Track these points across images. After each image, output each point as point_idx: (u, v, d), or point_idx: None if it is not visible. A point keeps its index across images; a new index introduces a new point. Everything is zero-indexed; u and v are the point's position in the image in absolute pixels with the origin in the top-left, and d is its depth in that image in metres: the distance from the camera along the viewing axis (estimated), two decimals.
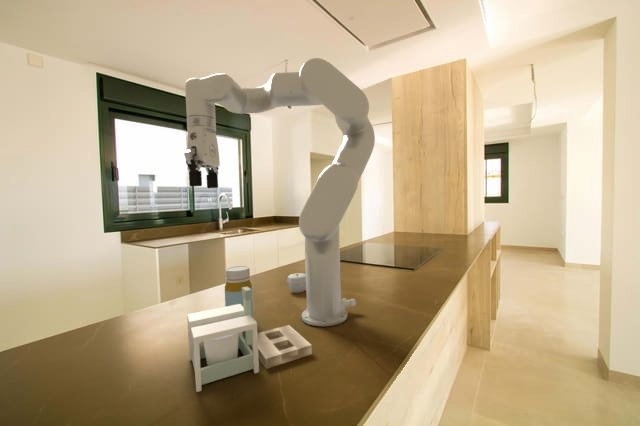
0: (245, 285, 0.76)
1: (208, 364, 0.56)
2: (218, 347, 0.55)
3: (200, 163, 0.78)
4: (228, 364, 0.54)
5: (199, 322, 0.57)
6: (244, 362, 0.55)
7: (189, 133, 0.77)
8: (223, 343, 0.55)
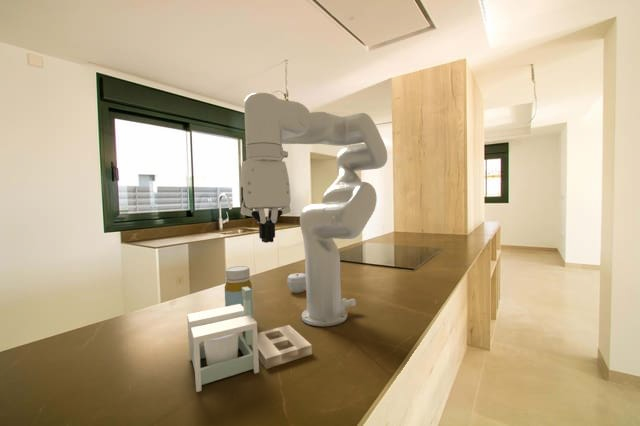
0: (245, 285, 0.76)
1: (208, 364, 0.56)
2: (218, 347, 0.55)
3: None
4: (228, 364, 0.54)
5: (199, 322, 0.57)
6: (244, 362, 0.55)
7: (286, 169, 0.63)
8: (223, 343, 0.55)
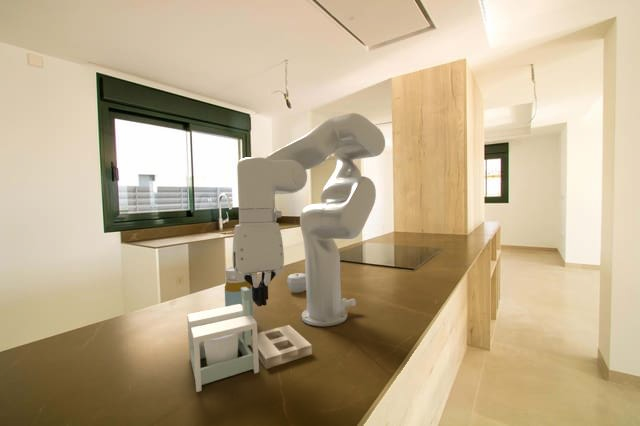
0: (245, 285, 0.76)
1: (208, 364, 0.56)
2: (218, 347, 0.55)
3: None
4: (227, 364, 0.53)
5: (199, 322, 0.57)
6: (243, 362, 0.55)
7: None
8: (223, 343, 0.55)
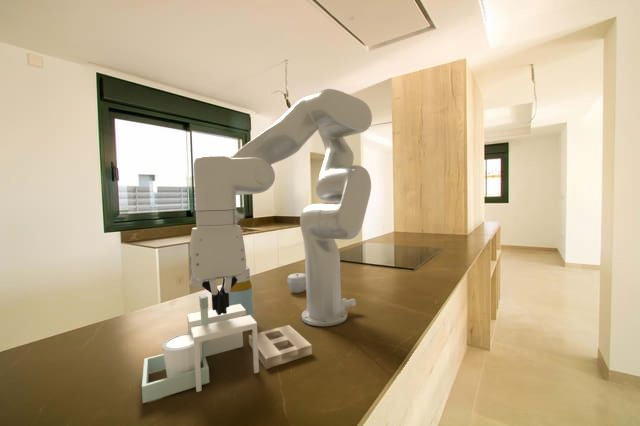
0: (245, 285, 0.76)
1: None
2: (180, 358, 0.51)
3: None
4: (178, 379, 0.50)
5: (199, 322, 0.57)
6: None
7: None
8: (185, 353, 0.51)
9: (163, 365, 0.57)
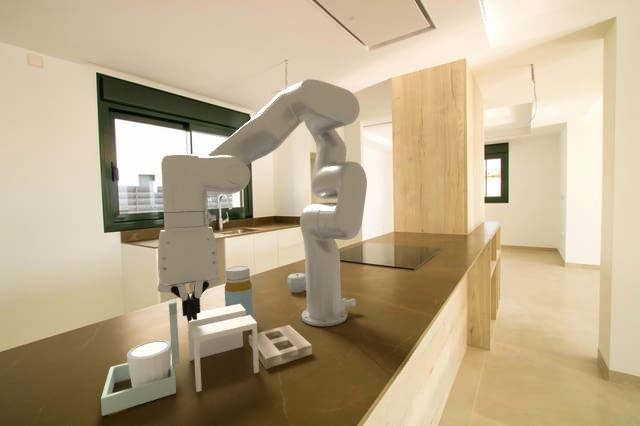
0: (245, 285, 0.76)
1: None
2: (144, 367, 0.49)
3: None
4: (141, 389, 0.47)
5: (199, 322, 0.57)
6: (162, 386, 0.48)
7: None
8: (151, 362, 0.49)
9: None
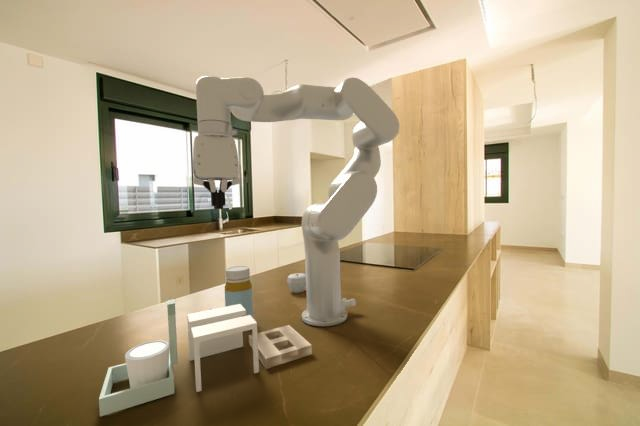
0: (245, 285, 0.76)
1: None
2: (142, 367, 0.48)
3: None
4: (139, 390, 0.47)
5: (199, 322, 0.57)
6: (160, 387, 0.48)
7: (235, 145, 0.71)
8: (149, 363, 0.49)
9: None
